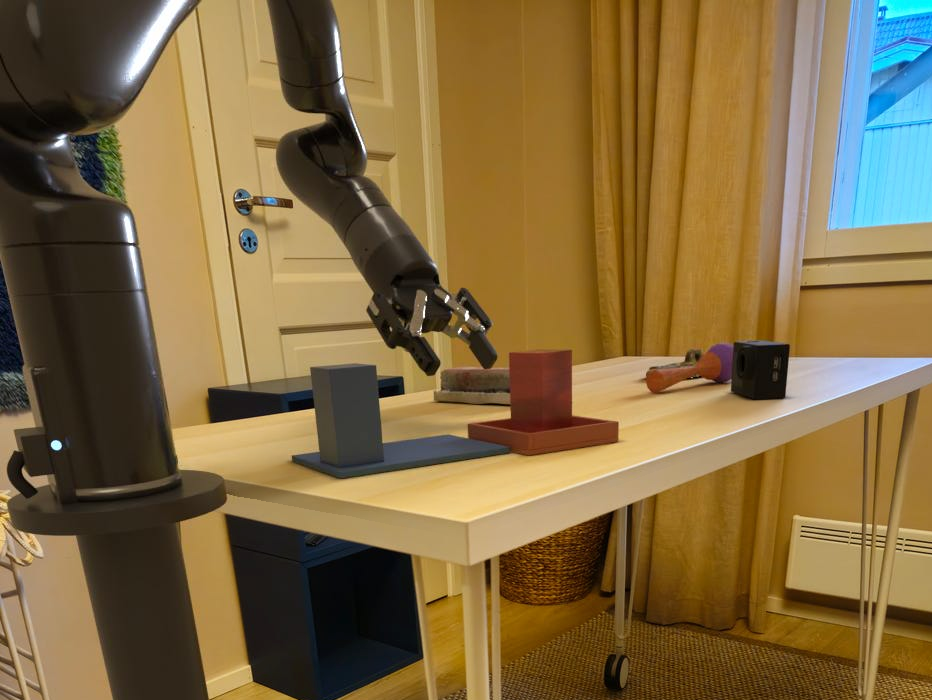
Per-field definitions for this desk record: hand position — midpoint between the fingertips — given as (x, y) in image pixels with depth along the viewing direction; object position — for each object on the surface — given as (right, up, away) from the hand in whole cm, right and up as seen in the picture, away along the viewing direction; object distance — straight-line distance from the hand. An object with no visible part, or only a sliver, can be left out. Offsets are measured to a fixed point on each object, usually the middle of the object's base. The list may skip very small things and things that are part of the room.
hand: (464, 367), depth 94 cm
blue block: (-10, -13, -15) cm, 22 cm away
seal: (+36, +16, +55) cm, 67 cm away
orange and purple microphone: (+35, +9, +39) cm, 53 cm away
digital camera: (+40, +4, +25) cm, 47 cm away
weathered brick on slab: (+4, +5, +32) cm, 33 cm away
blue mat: (-6, -12, -10) cm, 17 cm away
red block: (+8, -9, -5) cm, 13 cm away
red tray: (+8, -9, -5) cm, 13 cm away
